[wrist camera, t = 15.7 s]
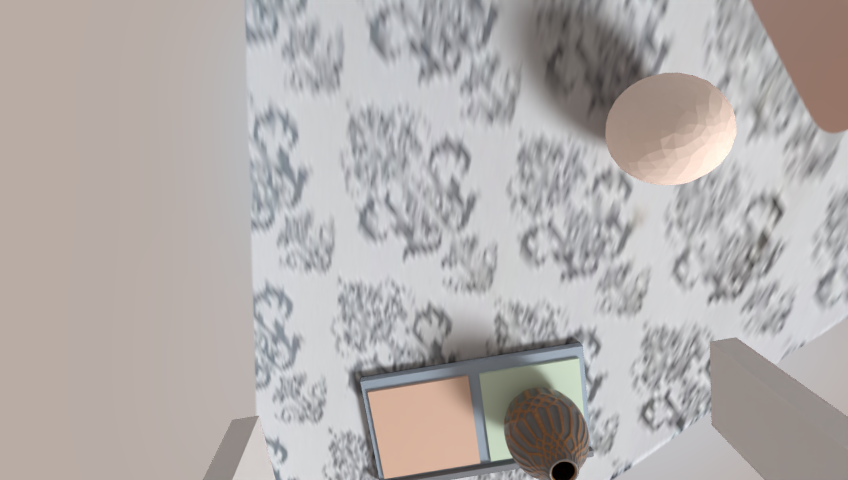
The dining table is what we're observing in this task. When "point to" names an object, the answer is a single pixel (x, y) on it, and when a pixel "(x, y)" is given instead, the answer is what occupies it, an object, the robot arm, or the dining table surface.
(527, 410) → the vase
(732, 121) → the egg
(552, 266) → the dining table surface
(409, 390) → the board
